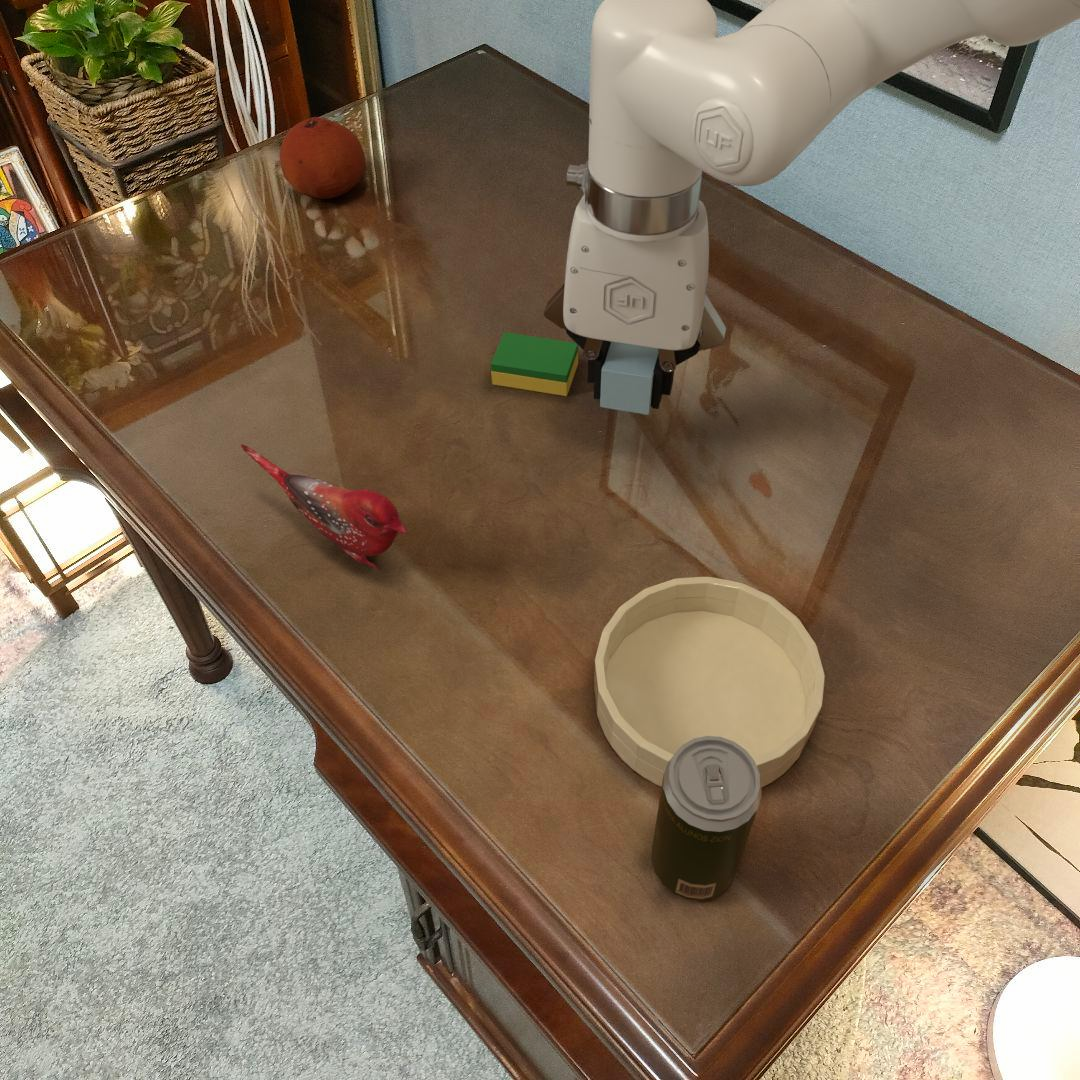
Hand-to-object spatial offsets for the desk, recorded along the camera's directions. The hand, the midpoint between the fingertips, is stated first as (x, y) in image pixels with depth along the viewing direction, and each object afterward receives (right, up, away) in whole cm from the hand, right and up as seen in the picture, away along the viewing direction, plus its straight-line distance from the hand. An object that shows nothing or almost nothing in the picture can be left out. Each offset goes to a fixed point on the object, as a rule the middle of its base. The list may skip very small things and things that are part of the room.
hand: (629, 390), depth 83 cm
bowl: (+4, -23, -11) cm, 26 cm away
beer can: (+2, -33, -18) cm, 37 cm away
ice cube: (0, 0, 0) cm, 0 cm away
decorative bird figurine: (-24, -13, -1) cm, 27 cm away
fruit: (-31, +26, +31) cm, 51 cm away
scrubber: (-8, +3, +11) cm, 14 cm away
